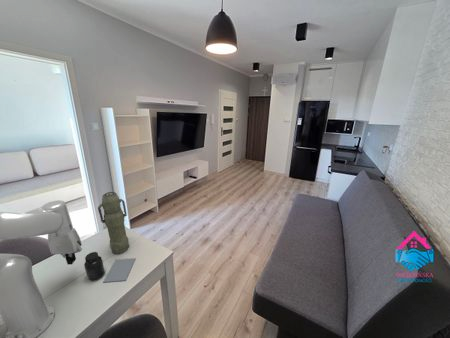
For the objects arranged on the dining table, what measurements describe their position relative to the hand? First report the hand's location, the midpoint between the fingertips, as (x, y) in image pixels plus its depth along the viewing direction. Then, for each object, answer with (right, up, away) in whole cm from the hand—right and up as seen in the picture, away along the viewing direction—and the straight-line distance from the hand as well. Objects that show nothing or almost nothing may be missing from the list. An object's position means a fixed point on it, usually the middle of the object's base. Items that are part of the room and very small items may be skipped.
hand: (72, 261), depth 83 cm
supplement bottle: (+9, -9, +4) cm, 13 cm away
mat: (+18, -8, +7) cm, 21 cm away
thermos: (+11, -3, +20) cm, 23 cm away
